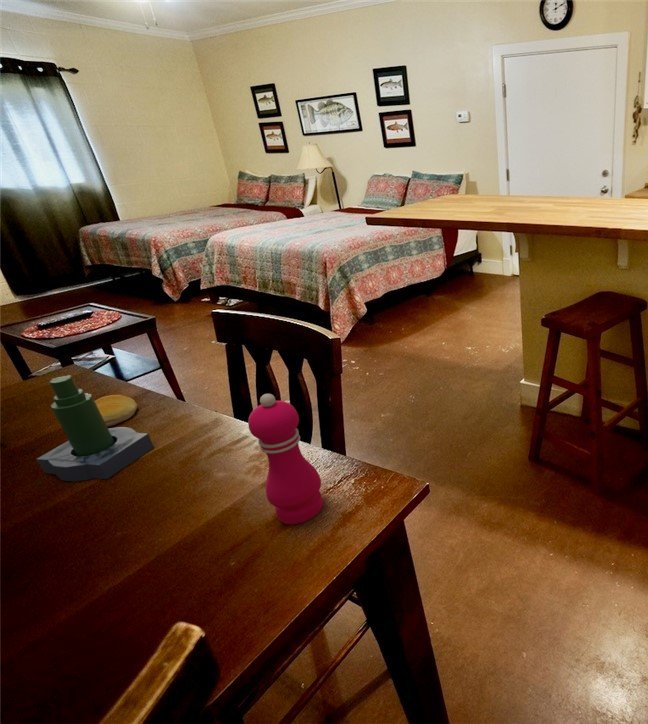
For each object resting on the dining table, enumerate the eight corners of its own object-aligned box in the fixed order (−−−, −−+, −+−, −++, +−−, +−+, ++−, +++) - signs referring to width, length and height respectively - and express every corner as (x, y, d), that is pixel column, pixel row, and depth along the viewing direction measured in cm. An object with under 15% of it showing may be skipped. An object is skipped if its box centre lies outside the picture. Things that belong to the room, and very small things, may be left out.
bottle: (80, 472, 79) (35, 389, 72) (85, 457, 83) (42, 377, 76) (118, 462, 82) (78, 380, 75) (121, 447, 85) (83, 369, 78)
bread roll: (76, 434, 89) (67, 416, 88) (95, 411, 97) (87, 394, 95) (129, 425, 92) (121, 407, 90) (144, 403, 100) (137, 386, 98)
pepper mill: (310, 487, 76) (278, 376, 67) (336, 505, 72) (306, 391, 63) (264, 513, 70) (224, 398, 62) (290, 535, 67) (251, 415, 58)
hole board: (36, 478, 78) (27, 463, 77) (103, 438, 88) (96, 424, 87) (99, 484, 77) (91, 469, 75) (160, 443, 87) (154, 429, 85)
